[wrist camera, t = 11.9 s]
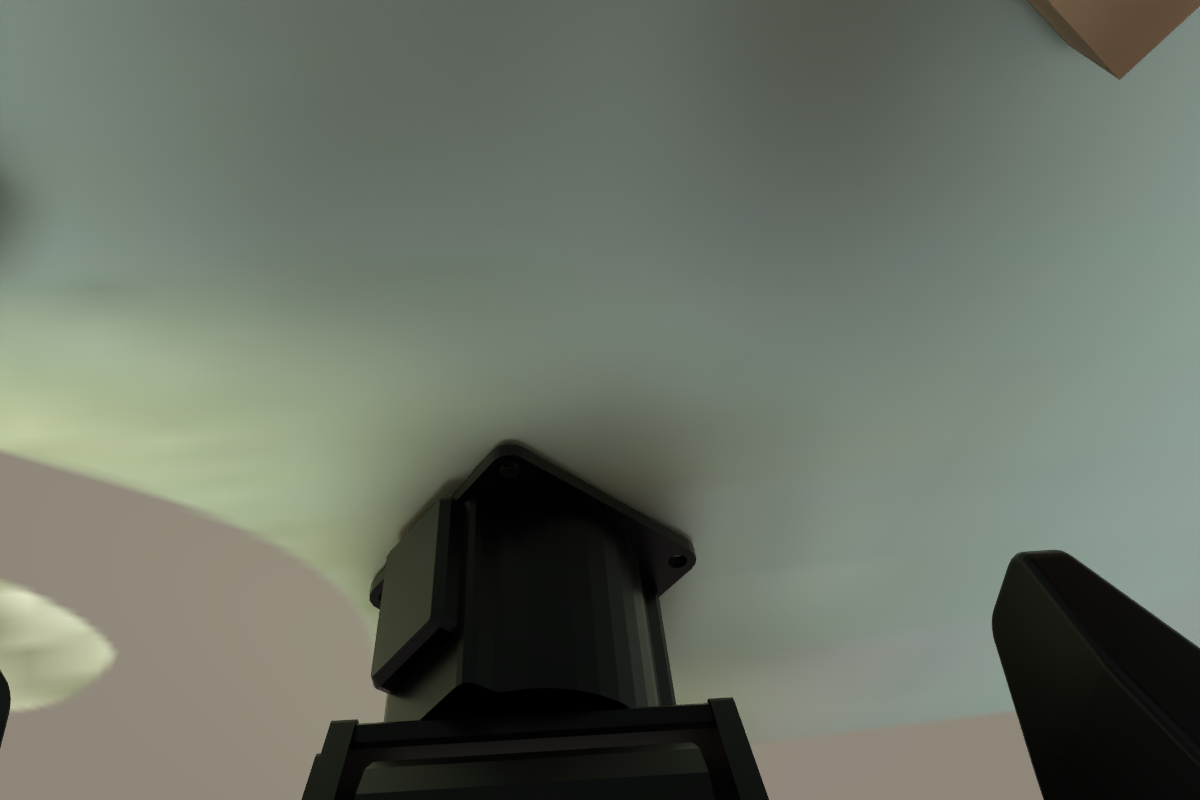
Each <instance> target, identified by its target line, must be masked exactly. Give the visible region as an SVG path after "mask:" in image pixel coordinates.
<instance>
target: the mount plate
mask: <svg viewBox="0 0 1200 800" xmlns="http://www.w3.org/2000/svg"><path fill="white" fill-rule="evenodd" d="M1028 1H1029V2H1030V4H1031V5H1032V6H1033V7H1034V8H1035V9H1036V10H1037V11H1038V12H1039V13H1040V14H1041V16H1042V17H1043V18H1044V19H1045V20H1046V21H1047V22H1048V23H1049V24H1050V25H1051V26H1052V27H1053V29H1054V30H1055V31H1056V32H1057V33H1058V34H1059V35H1060V36H1061V37H1062V38H1063V39H1064V41H1065V42H1066V43H1067V44H1068V45H1069V46H1071V47H1072V48H1074V49H1075V50H1077V51H1078V52H1079V53H1081V54H1082V55H1084V56H1085V57H1087V58H1088V59H1090V60H1091V61H1093V62H1094V63H1096V64H1097V65H1099V66H1100V67H1102V68H1103V69H1105V70H1106V71H1107V72H1109V73H1110V74H1112V75H1113V76H1115V77H1116V78H1118V79H1119V80H1120V79H1121V78H1122V77H1123V76H1124V75H1125V74H1126V73H1127V72H1129V71H1130V70H1131V69H1132V68H1133V67H1134V66H1135V65H1136V64H1137V63H1138V62H1139V61H1140V60H1142V59H1143V58H1144V57H1145V56H1146V55H1147V54H1148V53H1149V52H1150V51H1151V50H1152V49H1153V48H1155V47H1156V46H1157V45H1158V44H1159V43H1160V42H1161V41H1162V40H1163V39H1164V38H1165V37H1166V36H1168V35H1169V34H1170V33H1171V32H1172V31H1173V30H1174V29H1175V28H1176V27H1177V26H1178V25H1179V24H1181V23H1182V22H1183V21H1184V20H1185V19H1186V18H1187V17H1188V16H1189V15H1190V14H1191V13H1192V12H1194V11H1195V10H1196V9H1197V8H1198V7H1199V6H1200V0H1028Z"/></svg>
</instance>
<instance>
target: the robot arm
mask: <svg viewBox="0 0 1200 800" xmlns="http://www.w3.org/2000/svg"><path fill="white" fill-rule="evenodd" d="M505 463H515V464H517V466H515V467H512V468H507V467H504V466H503V464H505ZM679 554H680V555H681V556H679V557H672V556H674V555H679ZM695 562H696V555H695V551H694V547H693V544H692V543H691V542H690V541H689V540H688V539H686V538H684V537H682V536H681V535H679V534H677V533H675V532H673V531H672V530H670V529H668V528H666V527H664V526H663V525H661V524H659V523H657V522H655V521H654V520H652V519H650V518H648V517H646V516H645V515H643V514H641V513H639V512H637V511H636V510H634V509H632V508H630V507H628V506H627V505H625V504H623V503H621V502H619V501H618V500H616V499H614V498H612V497H611V496H609V495H607V494H605V493H603V492H602V491H600V490H598V489H596V488H594V487H593V486H591V485H589V484H587V483H585V482H584V481H582V480H580V479H578V478H576V477H575V476H573V475H571V474H569V473H567V472H566V471H564V470H562V469H560V468H558V467H557V466H555V465H553V464H551V463H549V462H548V461H546V460H544V459H542V458H541V457H539V456H537V455H535V454H533V453H532V452H530V451H528V450H526V449H524V448H523V447H520V446H517V445H510V444H506V445H503V446H499V447H498V448H496V449H495V450H494V451H493V452H492V453H491V454H490V455H489V456H488V457H487V458H486V459H485V460H484V461H483V462H482V463H481V465H480V466H479V467H478V468H477V469H476V470H475V471H474V472H473V473H472V474H471V475H470V476H469V478H468V479H467V480H466V481H465V482H464V483H463V484H462V485H461V486H460V487H459V488H458V489H457V490H456V492H455V493H454V494H453V495H452V496H446V497H444V498H441V499H439V500H438V501H437V502H436V503H435V504H434V505H433V506H432V507H431V508H430V509H429V510H428V511H427V513H426V514H425V515H424V516H423V517H422V518H421V519H420V520H419V521H418V522H417V523H416V524H415V526H414V527H413V528H412V529H411V530H410V531H409V532H408V533H407V534H406V535H405V536H404V537H403V539H402V540H401V541H400V542H399V543H398V544H397V545H396V546H395V547H394V548H393V549H392V551H391V552H390V553H389V554H388V556H387V561H386V567H385V568H384V569H383V570H382V571H381V572H380V573H379V575H378V576H377V577H376V578H375V579H374V580H373V582H372V584H371V589H370V602H371V603H372V604H373V606H375V607H377V608H378V609H380V612H379V620H378V627H377V634H376V642H375V649H374V656H373V664H372V671H371V678H372V681H373V685H374V687H375V688H376V689H378V690H381V691H383V692H386V693H387V700H386V708H385V717H384V722H382V723H381V722H380V723H364V724H359V722H358V720H342V721H341V720H340V721H331V723H330V726H329V730H328V733H327V736H326V739H325V742H324V745H323V749H322V752H321V754H317V755H316V756H315V759H314V763H313V766H312V769H311V772H310V775H309V778H308V781H307V784H306V787H305V791H304V794H303V797H302V800H769V798H768V796H767V793H766V790H765V787H764V784H763V781H762V779H761V776H760V773H759V770H758V767H757V765H756V761H755V759H754V756H753V753H752V750H751V747H750V744H749V742H748V739H747V736H746V733H745V730H744V727H743V725H742V722H741V719H740V716H739V713H738V710H737V708H736V705H735V702H734V699H733V698H716V699H708V702H707V703H702V704H686V705H676V702H675V696H674V689H673V683H672V677H671V671H670V665H669V658H668V652H667V646H666V640H665V634H664V627H663V621H662V615H661V609H660V602H659V596H660V595H662V594H663V593H664V592H665V591H666V590H667V589H669V588H670V587H671V586H672V585H673V584H674V583H676V582H677V581H678V580H679V579H680V578H681V577H682V576H684V575H685V574H686V573H687V572H688V571H689V570H691V569H692V567H693V566H694V565H695ZM992 631H993V637H994V641H995V644H996V647H997V651H998V654H999V657H1000V661H1001V664H1002V667H1003V670H1004V674H1005V677H1006V680H1007V683H1008V687H1009V690H1010V693H1011V697H1012V700H1013V703H1014V706H1015V710H1016V713H1017V716H1018V719H1019V723H1020V726H1021V729H1022V732H1023V736H1024V739H1025V742H1026V746H1027V749H1028V752H1029V755H1030V759H1031V762H1032V765H1033V768H1034V772H1035V775H1036V778H1037V781H1038V784H1039V787H1040V790H1041V793H1042V796H1043V798H1044V800H1200V648H1199V647H1198V646H1196V645H1195V644H1193V643H1192V642H1191V641H1189V640H1188V639H1187V638H1185V637H1184V636H1182V635H1181V634H1180V633H1178V632H1177V631H1175V630H1174V629H1173V628H1171V627H1170V626H1169V625H1167V624H1166V623H1164V622H1163V621H1162V620H1160V619H1159V618H1157V617H1156V616H1155V615H1153V614H1152V613H1150V612H1149V611H1148V610H1146V609H1145V608H1144V607H1142V606H1141V605H1139V604H1138V603H1137V602H1135V601H1134V600H1132V599H1131V598H1130V597H1128V596H1127V595H1125V594H1124V593H1123V592H1121V591H1120V590H1119V589H1117V588H1116V587H1114V586H1113V585H1112V584H1110V583H1109V582H1107V581H1106V580H1105V579H1103V578H1102V577H1100V576H1099V575H1098V574H1096V573H1095V572H1094V571H1092V570H1091V569H1089V568H1088V567H1087V566H1085V565H1084V564H1082V563H1081V562H1080V561H1078V560H1077V559H1076V558H1074V557H1073V556H1071V555H1069V554H1068V553H1066V552H1063V551H1060V550H1043V551H1028V552H1021V553H1017V554H1016V555H1015V556H1014V557H1013V558H1012V559H1011V561H1010V563H1009V565H1008V568H1007V571H1006V574H1005V577H1004V580H1003V583H1002V586H1001V589H1000V592H999V595H998V598H997V601H996V604H995V607H994V611H993V615H992ZM10 700H11V699H10V690H9V686H8V683H7V681H6V679H5V677H4V675H3V674H2V672H1V670H0V748H1V744H2V740H3V736H4V731H5V727H6V723H7V719H8V715H9V710H10Z"/></svg>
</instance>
